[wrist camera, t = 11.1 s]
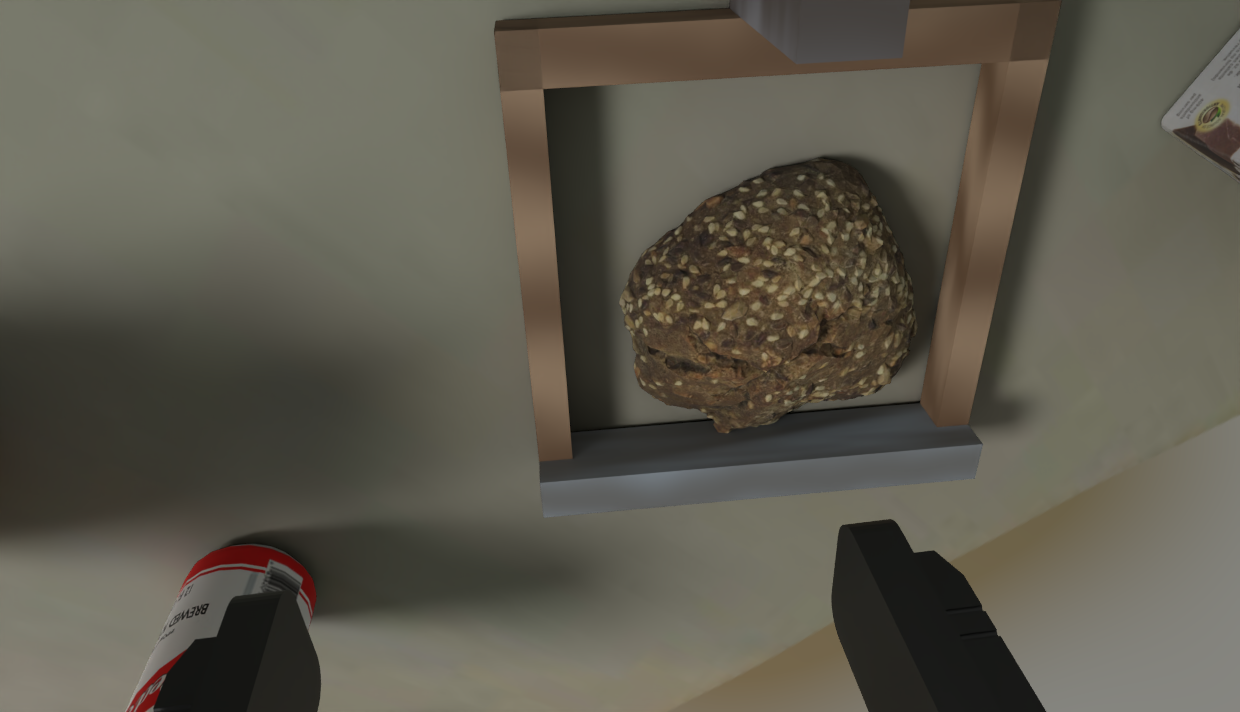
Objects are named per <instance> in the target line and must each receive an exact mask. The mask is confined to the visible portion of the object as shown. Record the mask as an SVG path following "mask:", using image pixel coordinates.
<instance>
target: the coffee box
mask: <svg viewBox="0 0 1240 712" xmlns="http://www.w3.org/2000/svg"><path fill="white" fill-rule="evenodd" d="M1161 125H1162V128H1163V129H1164V130H1166V131H1167V132H1168V133H1170V134H1171V135H1172V136H1174V137H1175V138H1177V139H1178V140H1179V141H1181V142H1182V143H1183V144H1185V145H1186V146H1188V147H1189V148H1191V149H1192V150H1193V151H1195V152H1196V153H1198V154H1199V155H1201V156H1202V157H1204V158H1205V159H1206V160H1208V161H1209V162H1211V163H1212V164H1214V165H1215V166H1217V167H1218V168H1219V169H1221V170H1222V171H1224V172H1225V173H1227V174H1228V175H1229V176H1231V177H1232V178H1233V179H1235V180H1236V181H1238V182H1239V183H1240V29H1239V30H1238V31H1237V32H1236V33H1235V35H1234V36H1233V37H1232V38H1231V39H1230V40H1229V41H1228V42H1227V43H1226V45H1225V46H1224V47H1223V48H1222V49H1221V50H1220V52H1219V53H1218V54H1217V55H1216V56H1215V57H1214V59H1213V60H1212V61H1211V62H1210V63H1209V64H1208V66H1207V67H1206V68H1205V69H1204V70H1203V71H1202V72H1201V74H1200V75H1199V76H1198V77H1197V78H1196V79H1195V81H1194V82H1193V83H1192V84H1191V85H1190V86H1189V88H1188V89H1187V90H1186V91H1185V92H1184V93H1183V95H1182V96H1181V97H1180V98H1179V99H1178V100H1177V102H1176V103H1175V104H1174V105H1173V106H1172V107H1171V109H1170V110H1169V111H1168V112H1167V113H1166V114H1165V116H1164V117H1163V119H1162V121H1161Z"/></svg>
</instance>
